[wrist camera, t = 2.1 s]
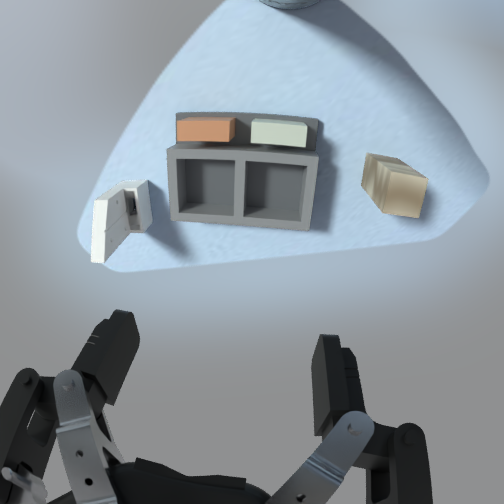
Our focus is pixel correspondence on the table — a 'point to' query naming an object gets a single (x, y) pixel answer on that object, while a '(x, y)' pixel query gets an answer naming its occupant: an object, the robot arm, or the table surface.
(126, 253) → the table surface
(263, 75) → the table surface
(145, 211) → the white angled block
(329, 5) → the table surface
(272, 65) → the table surface
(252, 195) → the socket block
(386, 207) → the tan rectangular block
